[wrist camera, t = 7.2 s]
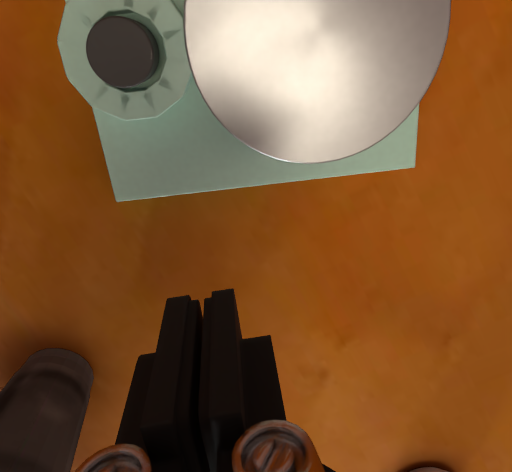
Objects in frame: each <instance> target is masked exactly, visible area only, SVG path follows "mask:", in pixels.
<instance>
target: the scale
mask: <svg viewBox="0 0 512 472" xmlns="http://www.w3.org/2000/svg"><path fill="white" fill-rule="evenodd" d="M184 1H185V0H65V2H66V5H65V8H64V12H63V16H62V20H61V25H60V29H59V33H58V37H57V40H58V41H57V43H58V47H59V50H60V54H61V58H62V62H63V65H64V69H65V73H66V76H67V78H68V80H69V81H70V82H71V83H72V85H73V86H74V87H75V88H76V89H77V90H78V92H79V93H80V94H81V95H82V96H83V97H84V98H85V100H86V101H87V102H88V103H89V104H90V105H91V106H92V109H93V113H94V116H95V120H96V124H97V128H98V132H99V136H100V140H101V144H102V148H103V152H104V156H105V160H106V164H107V168H108V172H109V176H110V180H111V183H112V187H113V191H114V195H115V199H116V202H121V201H129V200H138V199H146V198H155V197H164V196H172V195H181V194H190V193H198V192H207V191H215V190H224V189H233V188H241V187H250V186H258V185H267V184H276V183H284V182H293V181H301V180H310V179H319V178H327V177H336V176H344V175H353V174H362V173H370V172H379V171H387V170H396V169H405V168H413V167H415V157H416V142H417V127H418V112H419V104H418V105H417V106H416V108H415V109H414V110H413V111H412V113H411V114H410V115H409V116H408V117H407V119H406V120H405V121H404V122H403V123H401V124H400V125H399V126H398V127H397V128H396V129H395V130H394V131H393V132H392V133H390V134H389V135H388V136H387V137H385V138H384V139H383V140H381V141H380V142H378V143H376V144H375V145H373V146H371V147H370V148H368V149H366V150H364V151H362V152H360V153H357V154H355V155H353V156H350V157H347V158H344V159H340V160H337V161H331V162H326V163H314V164H303V163H292V162H287V161H282V160H278V159H275V158H272V157H269V156H266V155H264V154H261V153H259V152H258V151H256V150H254V149H252V148H250V147H248V146H247V145H245V144H244V143H242V142H241V141H240V140H238V139H237V138H235V137H234V136H233V135H232V134H231V133H230V132H229V131H228V130H227V129H226V128H224V127H223V125H222V124H221V123H220V122H219V121H218V120H217V118H216V117H215V116H214V115H213V114H212V112H211V111H210V109H209V107H208V106H207V104H206V103H205V101H204V100H203V98H202V96H201V94H200V92H199V90H198V88H197V86H196V83H195V81H194V78H193V75H192V72H191V69H190V66H189V62H188V57H187V53H186V48H185V40H184V29H183V18H184ZM108 16H123V17H126V18H130V19H133V20H136V21H138V22H140V23H142V24H143V25H144V26H146V27H147V28H148V29H149V30H150V31H151V33H152V34H153V36H154V37H155V39H156V41H157V44H158V48H159V63H158V67H157V69H156V71H155V73H154V74H153V75H152V77H151V78H150V79H148V80H147V81H145V82H143V83H141V84H139V85H137V86H134V87H131V88H118V87H114V86H111V85H109V84H107V83H106V82H104V81H103V80H102V79H100V78H99V77H98V76H97V75H96V74H95V72H94V71H93V69H92V68H91V66H90V64H89V61H88V58H87V54H86V41H87V37H88V34H89V32H90V30H91V28H92V27H93V26H94V25H95V24H96V23H97V22H98V21H99V20H101V19H103V18H105V17H108Z"/></svg>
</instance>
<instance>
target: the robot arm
mask: <svg viewBox="0 0 512 472" xmlns="http://www.w3.org/2000/svg"><path fill="white" fill-rule="evenodd" d="M75 472H335V471H333V470H332V469H330V468H329V467H327V466H325V465H324V464H322V463H321V461H320V459H319V456H318V454H317V452H316V449H315V447H314V445H313V442H312V441H311V439H310V437H309V436H308V434H307V433H306V432H305V431H304V430H303V429H301V428H300V427H299V426H298V425H296V424H293V423H291V422H288V421H286V416H285V411H284V405H283V400H282V395H281V389H280V384H279V378H278V373H277V368H276V362H275V357H274V352H273V346H272V341H271V336H270V335H267V336H261V337H254V338H248V339H242V335H241V329H240V323H239V317H238V311H237V305H236V299H235V294H234V289H226V290H219V291H213V292H212V297H211V298H205V299H204V314H203V317H202V312H201V307H200V303H199V300H191V298H190V296H189V295H186V296H180V297H173V298H168V299H167V301H166V305H165V310H164V315H163V320H162V324H161V329H160V334H159V339H158V344H157V348H156V353H150V354H144V355H140V356H139V358H138V360H137V363H136V367H135V371H134V375H133V378H132V382H131V386H130V390H129V394H128V397H127V401H126V405H125V409H124V413H123V416H122V420H121V424H120V428H119V431H118V435H117V439H116V443H115V445H112V446H109V447H107V448H104V449H102V450H99V451H98V452H96V453H95V454H93V455H92V456H90V457H89V458H87V459H86V460H85V461H84V462H83V463H82V464H81V465H80V466H79V467H78V468H77V469H76V471H75Z"/></svg>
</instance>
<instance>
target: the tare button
mask: <svg viewBox="0 0 512 472" xmlns="http://www.w3.org/2000/svg"><path fill="white" fill-rule="evenodd" d="M86 54H87V58H88V61H89V64H90V66H91V68H92V69H93V71H94V72H95V74H96V75H97V76H98V77H99V78H100V79H102V80H103V81H104V82H106V83H107V84H109V85H111V86H114V87H118V88H131V87H134V86H137V85H139V84H141V83H143V82H145V81H147V80H148V79H150V78H151V77H152V75H153V74H154V73H155V71H156V69H157V67H158V63H159V48H158V44H157V41H156V39H155V37H154V36H153V34H152V33H151V31H150V30H149V29H148V28H147V27H146V26H144V25H143V24H142V23H140V22H138V21H136V20H133V19H130V18H126V17H123V16H108V17H105V18H103V19H101V20H99V21H98V22H97V23H96V24H95V25H94V26H93V27H92V28H91V30H90V32H89V34H88V37H87V41H86Z"/></svg>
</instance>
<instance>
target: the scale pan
mask: <svg viewBox="0 0 512 472" xmlns="http://www.w3.org/2000/svg"><path fill="white" fill-rule="evenodd" d="M450 11H451V0H185V1H184V18H183V29H184V40H185V48H186V53H187V57H188V62H189V66H190V69H191V72H192V75H193V78H194V81H195V83H196V86H197V88H198V90H199V92H200V94H201V96H202V98H203V100H204V101H205V103H206V104H207V106H208V107H209V109H210V111H211V112H212V114H213V115H214V116H215V117H216V118H217V120H218V121H219V122H220V123H221V124H222V125H223V127H224V128H226V129H227V130H228V131H229V132H230V133H231V134H232V135H233V136H234V137H235V138H237V139H238V140H240V141H241V142H242V143H244V144H245V145H247V146H248V147H250V148H252V149H254V150H256V151H258V152H259V153H261V154H264V155H266V156H269V157H272V158H275V159H278V160H282V161H287V162H292V163H303V164H314V163H326V162H331V161H337V160H340V159H344V158H347V157H350V156H353V155H355V154H357V153H360V152H362V151H364V150H366V149H368V148H370V147H371V146H373V145H375V144H376V143H378V142H380V141H381V140H383V139H384V138H385V137H387V136H388V135H389V134H390V133H392V132H393V131H394V130H395V129H396V128H397V127H398V126H399V125H400V124H401V123H403V122H404V121H405V120H406V119H407V117H408V116H409V115H410V114H411V113H412V111H413V110H414V109H415V108H416V106H417V105H418V104H419V102H420V101H421V99H422V98H423V96H424V95H425V93H426V92H427V90H428V88H429V86H430V84H431V82H432V80H433V78H434V76H435V74H436V72H437V69H438V67H439V64H440V62H441V59H442V56H443V53H444V49H445V45H446V41H447V37H448V30H449V23H450Z"/></svg>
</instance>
